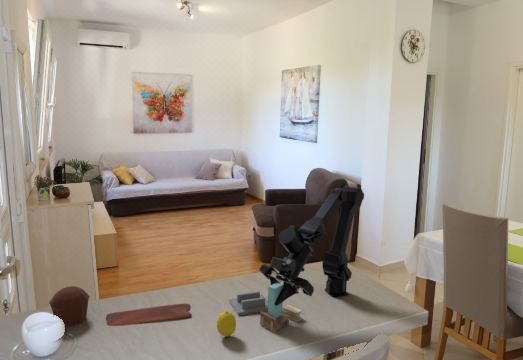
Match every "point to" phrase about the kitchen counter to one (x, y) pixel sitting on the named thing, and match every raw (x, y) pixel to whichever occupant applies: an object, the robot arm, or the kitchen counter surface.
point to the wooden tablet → (149, 315)
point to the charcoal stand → (249, 303)
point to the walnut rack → (273, 321)
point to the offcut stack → (292, 313)
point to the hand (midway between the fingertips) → (272, 303)
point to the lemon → (226, 324)
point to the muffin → (70, 305)
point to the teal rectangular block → (274, 300)
